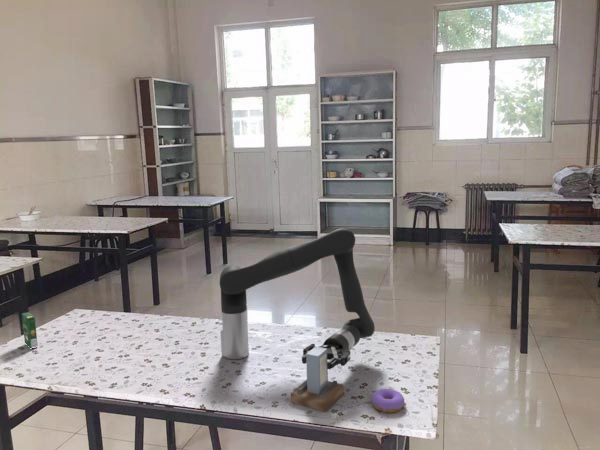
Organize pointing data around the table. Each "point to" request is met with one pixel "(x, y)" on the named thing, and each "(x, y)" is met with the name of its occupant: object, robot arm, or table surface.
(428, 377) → the table surface
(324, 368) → the light blue rectangular block
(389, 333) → the table surface
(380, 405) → the donut
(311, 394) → the display stand
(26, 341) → the coffee box
